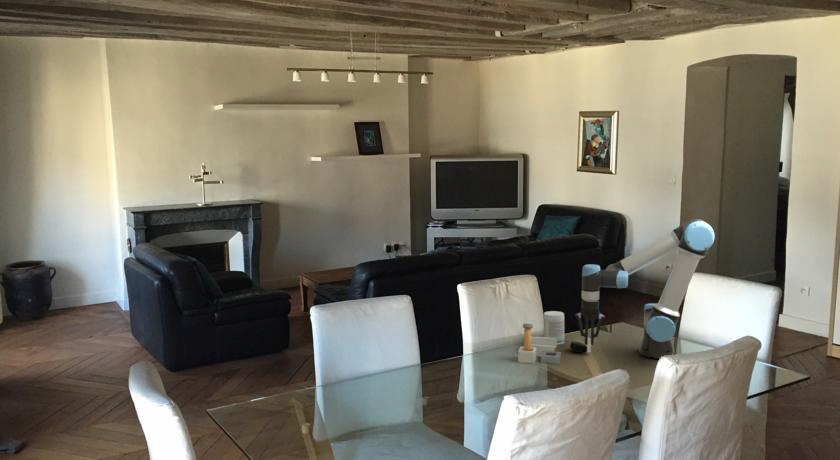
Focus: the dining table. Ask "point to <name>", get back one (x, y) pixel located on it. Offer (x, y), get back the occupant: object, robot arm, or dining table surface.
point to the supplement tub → (554, 325)
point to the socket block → (527, 355)
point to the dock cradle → (543, 344)
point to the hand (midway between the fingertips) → (589, 351)
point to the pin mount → (551, 357)
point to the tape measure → (578, 347)
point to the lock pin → (527, 336)
